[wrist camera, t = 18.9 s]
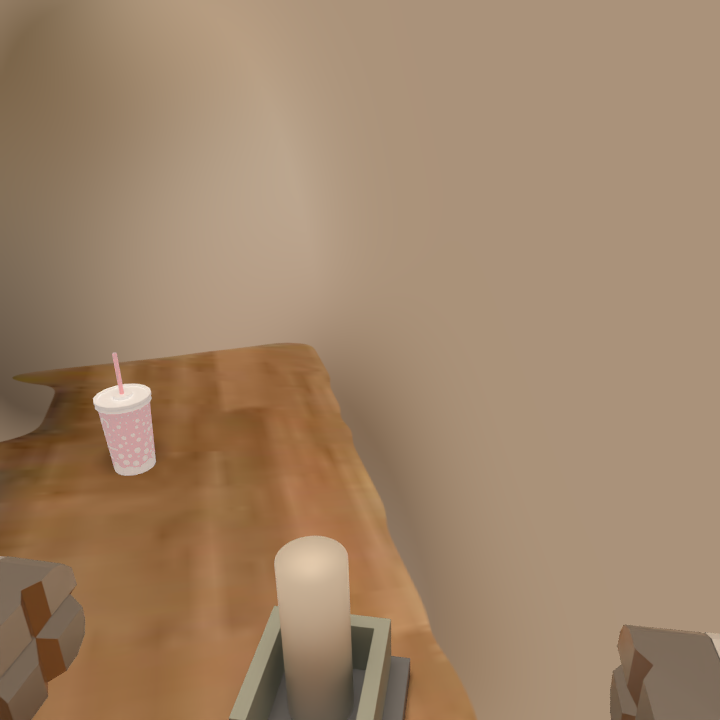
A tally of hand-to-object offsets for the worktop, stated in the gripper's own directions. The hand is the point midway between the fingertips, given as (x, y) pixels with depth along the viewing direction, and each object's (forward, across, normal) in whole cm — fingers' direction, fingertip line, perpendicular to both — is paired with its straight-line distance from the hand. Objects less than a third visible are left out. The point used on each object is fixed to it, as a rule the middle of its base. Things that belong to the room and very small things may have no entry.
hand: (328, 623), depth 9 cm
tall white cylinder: (+23, +7, +30) cm, 39 cm away
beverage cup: (+51, +36, +32) cm, 70 cm away
